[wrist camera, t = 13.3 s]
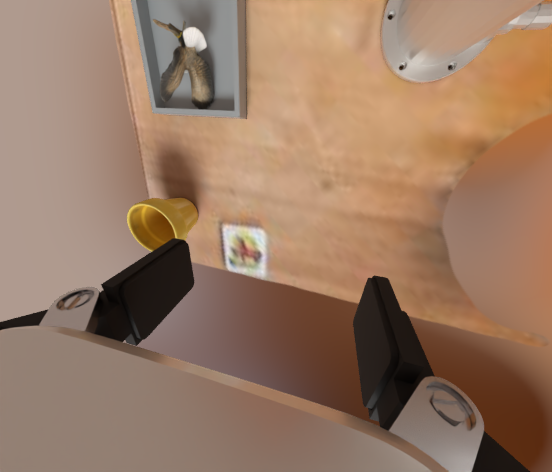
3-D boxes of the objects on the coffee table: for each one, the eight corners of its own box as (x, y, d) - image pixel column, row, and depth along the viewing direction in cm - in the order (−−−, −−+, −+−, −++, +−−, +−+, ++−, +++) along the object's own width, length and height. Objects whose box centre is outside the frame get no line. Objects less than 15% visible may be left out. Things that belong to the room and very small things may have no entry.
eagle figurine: (158, 36, 29) (162, 106, 32) (146, -1, 23) (154, 90, 26) (212, 52, 32) (212, 115, 35) (215, 23, 26) (215, 102, 28)
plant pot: (195, 241, 48) (166, 264, 39) (159, 214, 47) (120, 231, 38) (214, 210, 42) (184, 228, 34) (173, 179, 42) (133, 190, 33)
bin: (245, -31, 26) (235, -50, 23) (246, 118, 33) (239, 117, 31) (142, -21, 29) (123, -37, 26) (165, 114, 36) (152, 113, 33)
